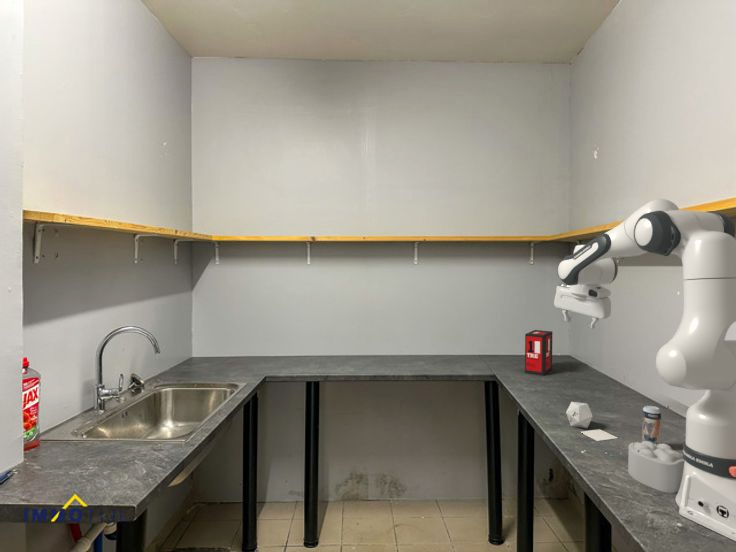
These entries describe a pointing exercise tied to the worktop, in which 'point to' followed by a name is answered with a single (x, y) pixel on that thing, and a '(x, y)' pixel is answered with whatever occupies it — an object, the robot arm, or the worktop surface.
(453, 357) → the worktop surface
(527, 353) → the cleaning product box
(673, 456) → the lumpy-topped squat cylinder
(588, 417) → the die
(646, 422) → the beer can
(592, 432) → the pad
